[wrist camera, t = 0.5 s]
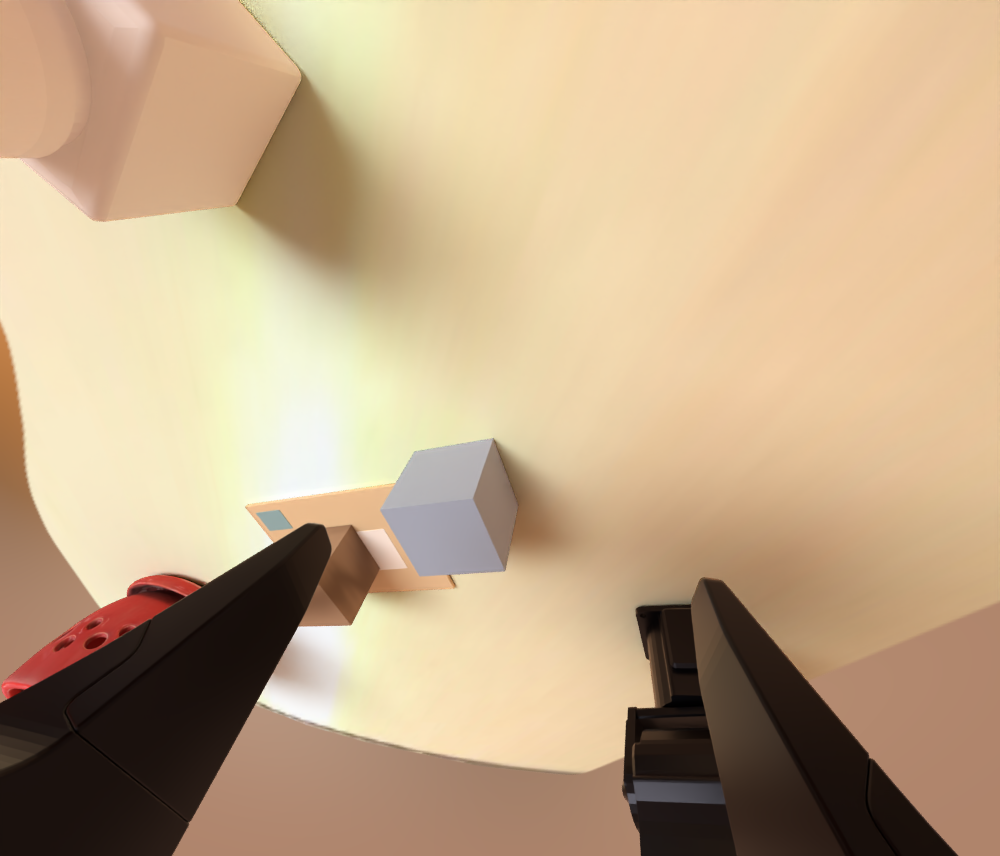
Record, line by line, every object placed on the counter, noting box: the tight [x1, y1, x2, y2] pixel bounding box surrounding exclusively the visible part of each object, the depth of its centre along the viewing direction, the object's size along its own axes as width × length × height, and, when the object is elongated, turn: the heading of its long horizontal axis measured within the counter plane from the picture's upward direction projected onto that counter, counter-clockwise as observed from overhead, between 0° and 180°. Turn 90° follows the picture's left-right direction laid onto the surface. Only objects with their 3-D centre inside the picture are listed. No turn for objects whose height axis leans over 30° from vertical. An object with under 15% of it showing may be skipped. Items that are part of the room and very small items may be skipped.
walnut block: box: [299, 525, 380, 626], centre depth 31 cm, size 5×5×5 cm
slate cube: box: [380, 438, 518, 577], centre depth 25 cm, size 6×6×6 cm
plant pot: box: [2, 575, 201, 699], centre depth 38 cm, size 13×13×12 cm
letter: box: [245, 483, 455, 593], centre depth 33 cm, size 11×14×1 cm
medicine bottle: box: [0, 0, 301, 222], centre depth 12 cm, size 7×7×12 cm
